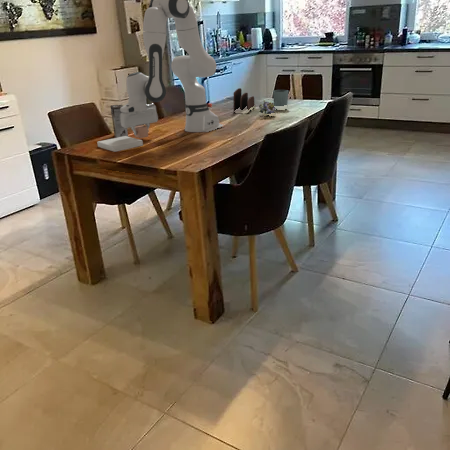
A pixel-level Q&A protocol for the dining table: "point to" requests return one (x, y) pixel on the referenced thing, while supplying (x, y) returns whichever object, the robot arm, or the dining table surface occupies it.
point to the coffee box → (117, 121)
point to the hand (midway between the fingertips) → (141, 133)
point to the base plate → (120, 143)
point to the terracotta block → (141, 131)
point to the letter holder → (242, 100)
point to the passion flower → (267, 107)
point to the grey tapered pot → (280, 97)
